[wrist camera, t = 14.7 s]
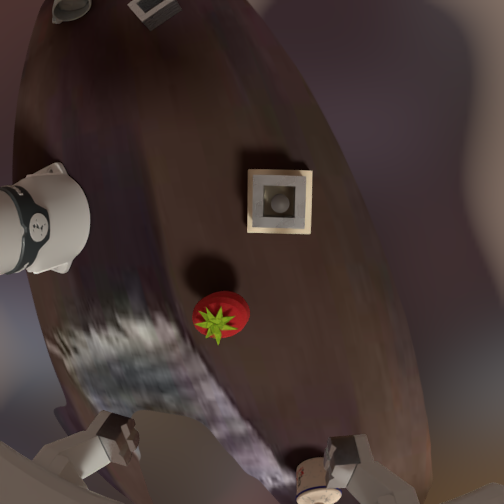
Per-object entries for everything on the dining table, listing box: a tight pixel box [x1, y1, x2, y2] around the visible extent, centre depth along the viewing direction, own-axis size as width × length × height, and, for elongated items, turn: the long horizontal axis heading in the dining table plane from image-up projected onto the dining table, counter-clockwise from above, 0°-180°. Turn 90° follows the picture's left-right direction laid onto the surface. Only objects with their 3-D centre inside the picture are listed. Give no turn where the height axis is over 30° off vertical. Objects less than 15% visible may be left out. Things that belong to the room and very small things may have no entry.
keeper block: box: [247, 169, 312, 234], centre depth 35 cm, size 8×8×7 cm
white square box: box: [127, 0, 182, 31], centre depth 31 cm, size 6×6×4 cm
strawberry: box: [193, 291, 250, 345], centre depth 37 cm, size 6×8×10 cm
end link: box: [252, 175, 306, 229], centre depth 35 cm, size 6×6×4 cm
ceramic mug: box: [52, 0, 91, 24], centre depth 29 cm, size 11×8×8 cm
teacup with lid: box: [296, 457, 342, 504], centre depth 44 cm, size 12×9×12 cm
